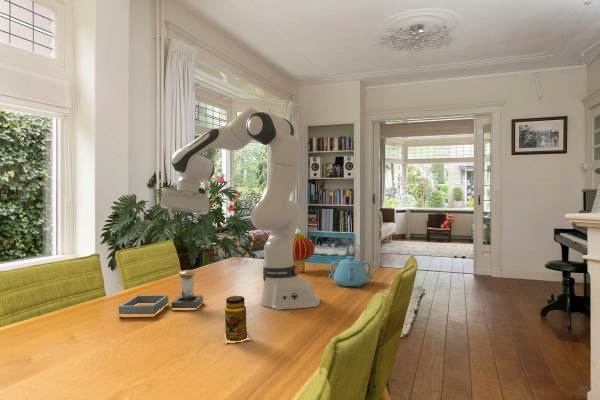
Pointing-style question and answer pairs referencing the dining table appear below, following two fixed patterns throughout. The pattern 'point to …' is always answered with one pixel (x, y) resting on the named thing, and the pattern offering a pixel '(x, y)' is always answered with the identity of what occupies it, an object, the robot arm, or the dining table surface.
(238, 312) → the condiment
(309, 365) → the dining table surface
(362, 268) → the blue handled pot
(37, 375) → the dining table surface
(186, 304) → the blue-grey square holder
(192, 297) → the glass jar
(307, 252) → the lantern
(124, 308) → the tray
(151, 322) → the dining table surface
